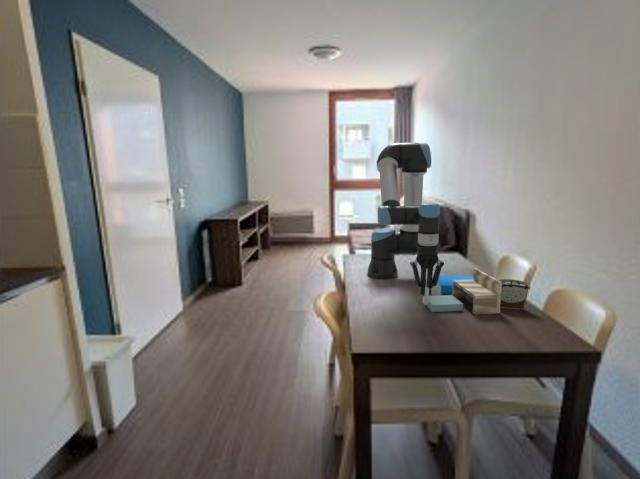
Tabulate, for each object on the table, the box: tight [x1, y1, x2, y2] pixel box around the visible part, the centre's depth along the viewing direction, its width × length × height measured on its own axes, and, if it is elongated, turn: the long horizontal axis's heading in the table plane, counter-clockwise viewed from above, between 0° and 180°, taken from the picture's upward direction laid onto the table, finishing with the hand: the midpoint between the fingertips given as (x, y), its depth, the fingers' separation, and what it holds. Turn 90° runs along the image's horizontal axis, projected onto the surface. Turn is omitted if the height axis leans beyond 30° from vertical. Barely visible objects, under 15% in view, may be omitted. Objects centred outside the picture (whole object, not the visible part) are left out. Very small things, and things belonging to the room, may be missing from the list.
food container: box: [498, 278, 531, 311], centre depth 149 cm, size 12×6×10 cm, turn 71°
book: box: [436, 274, 473, 295], centre depth 170 cm, size 17×4×25 cm
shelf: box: [451, 267, 502, 315], centre depth 150 cm, size 20×10×12 cm, turn 5°
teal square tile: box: [425, 294, 464, 313], centre depth 150 cm, size 10×12×3 cm
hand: (425, 303), depth 149 cm, fingers closed
